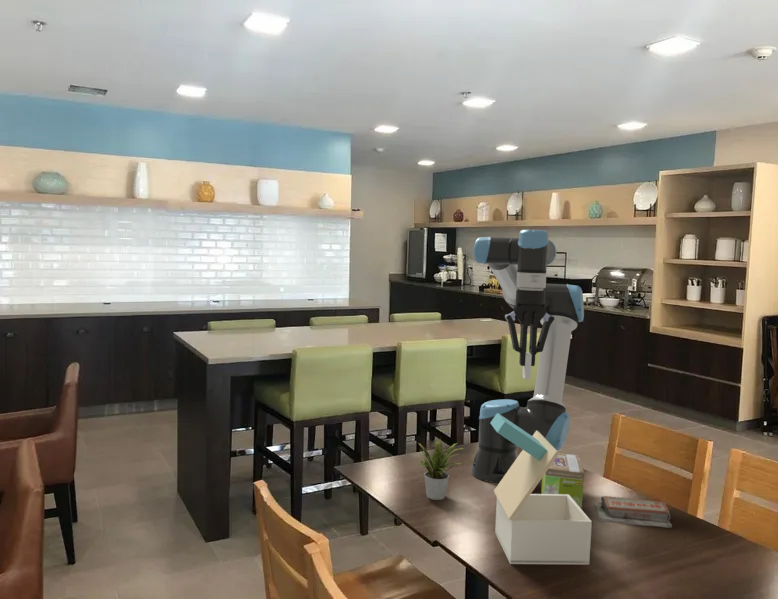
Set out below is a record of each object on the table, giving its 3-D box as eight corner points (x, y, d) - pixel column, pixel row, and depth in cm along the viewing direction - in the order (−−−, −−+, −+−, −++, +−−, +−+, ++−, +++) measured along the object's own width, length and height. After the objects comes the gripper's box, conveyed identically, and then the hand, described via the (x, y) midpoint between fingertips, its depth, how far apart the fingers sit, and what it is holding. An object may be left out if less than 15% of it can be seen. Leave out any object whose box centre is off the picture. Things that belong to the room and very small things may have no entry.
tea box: (581, 528, 167) (585, 472, 166) (541, 524, 169) (544, 468, 168) (577, 506, 182) (580, 453, 181) (539, 502, 184) (542, 450, 183)
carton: (566, 533, 164) (568, 494, 163) (589, 564, 148) (591, 521, 147) (495, 532, 163) (497, 493, 162) (510, 563, 147) (512, 520, 146)
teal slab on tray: (539, 432, 162) (496, 403, 160) (559, 453, 145) (512, 421, 144) (496, 492, 162) (454, 464, 161) (511, 520, 146) (465, 489, 145)
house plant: (473, 504, 180) (476, 446, 179) (426, 510, 175) (429, 450, 174) (450, 486, 193) (453, 432, 192) (407, 490, 189) (409, 435, 187)
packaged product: (664, 497, 179) (673, 511, 169) (662, 514, 179) (672, 530, 169) (595, 491, 182) (600, 504, 172) (594, 507, 182) (599, 522, 172)
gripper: (509, 289, 168) (505, 380, 170) (559, 290, 168) (554, 381, 170) (503, 287, 175) (498, 374, 177) (551, 288, 176) (546, 375, 178)
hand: (526, 377), depth 174 cm, fingers closed
